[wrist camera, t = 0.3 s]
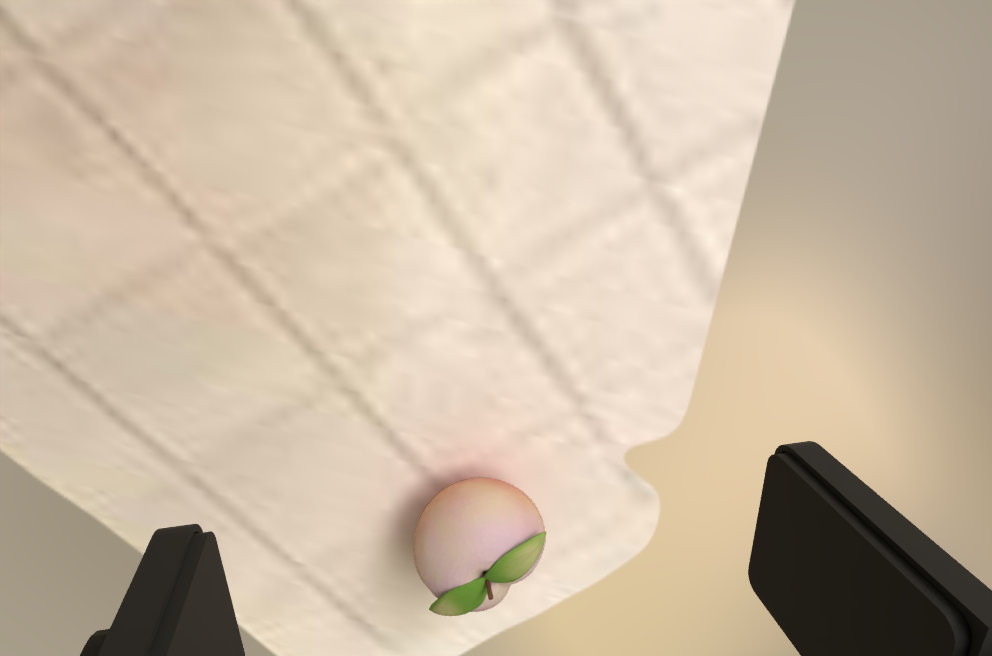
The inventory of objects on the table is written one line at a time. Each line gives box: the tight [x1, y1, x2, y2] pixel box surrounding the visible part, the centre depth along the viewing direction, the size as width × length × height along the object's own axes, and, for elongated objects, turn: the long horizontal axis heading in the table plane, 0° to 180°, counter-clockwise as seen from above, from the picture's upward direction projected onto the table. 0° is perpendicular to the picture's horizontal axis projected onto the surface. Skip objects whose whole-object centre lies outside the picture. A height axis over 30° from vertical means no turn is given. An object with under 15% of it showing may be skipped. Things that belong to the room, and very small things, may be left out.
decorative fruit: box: [414, 477, 546, 616], centre depth 43 cm, size 9×8×10 cm
